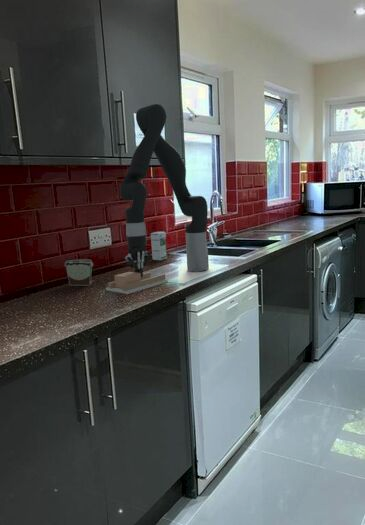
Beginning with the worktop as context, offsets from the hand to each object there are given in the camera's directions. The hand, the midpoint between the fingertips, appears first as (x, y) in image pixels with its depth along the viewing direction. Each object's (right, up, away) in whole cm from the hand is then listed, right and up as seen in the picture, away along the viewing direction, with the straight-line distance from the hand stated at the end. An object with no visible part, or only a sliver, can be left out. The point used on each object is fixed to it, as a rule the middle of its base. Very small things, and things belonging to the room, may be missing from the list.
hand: (139, 277), depth 173 cm
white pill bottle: (+5, +8, +59) cm, 60 cm away
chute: (-1, -3, 0) cm, 3 cm away
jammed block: (-4, -3, -4) cm, 6 cm away
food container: (-24, -3, +9) cm, 26 cm away
